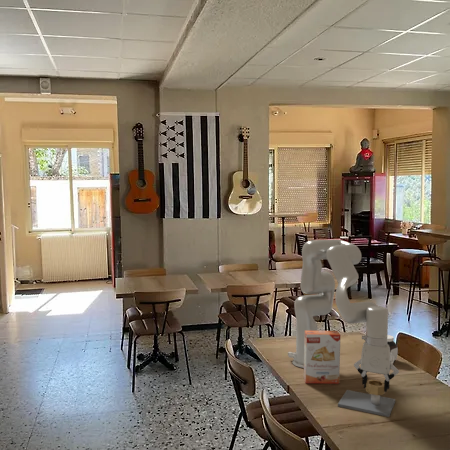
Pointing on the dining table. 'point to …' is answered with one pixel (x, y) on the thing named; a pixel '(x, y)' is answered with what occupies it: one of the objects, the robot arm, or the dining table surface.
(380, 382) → the ring
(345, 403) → the base
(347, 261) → the robot arm
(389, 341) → the spread jar
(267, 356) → the dining table surface
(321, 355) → the cracker box
